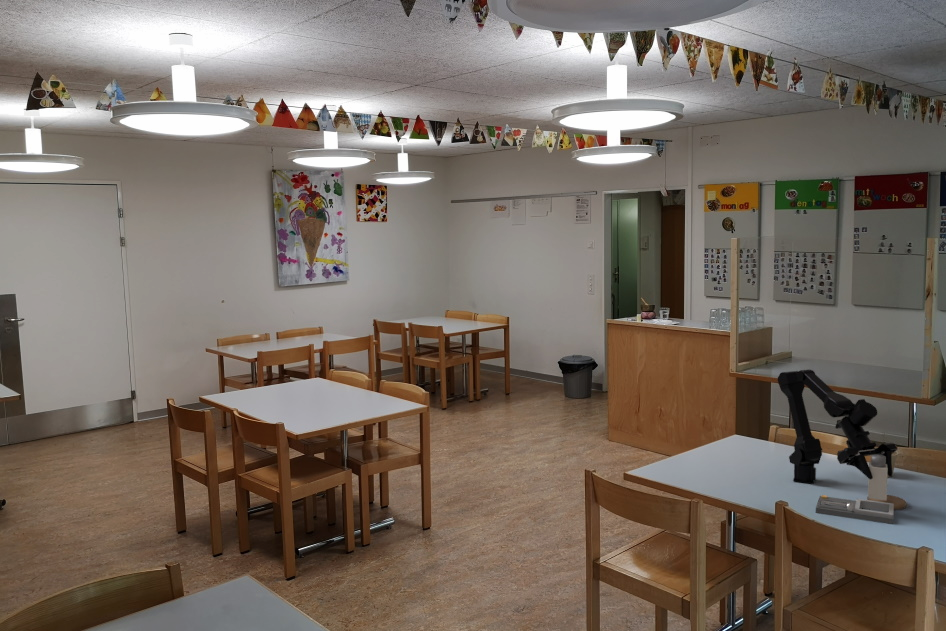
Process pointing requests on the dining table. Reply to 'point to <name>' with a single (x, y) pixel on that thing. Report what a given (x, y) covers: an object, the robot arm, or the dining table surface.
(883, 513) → the grey control panel
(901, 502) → the disc
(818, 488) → the dining table surface
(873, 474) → the white carton with cap
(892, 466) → the flower pot
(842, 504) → the lever
